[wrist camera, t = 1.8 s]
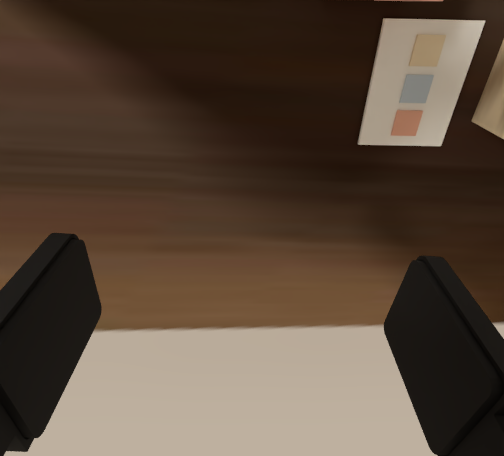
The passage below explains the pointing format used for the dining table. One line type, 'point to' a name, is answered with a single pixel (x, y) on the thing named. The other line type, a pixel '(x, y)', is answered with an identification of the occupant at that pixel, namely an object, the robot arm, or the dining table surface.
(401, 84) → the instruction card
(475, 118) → the maple brick
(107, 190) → the dining table surface
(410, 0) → the terracotta brick
